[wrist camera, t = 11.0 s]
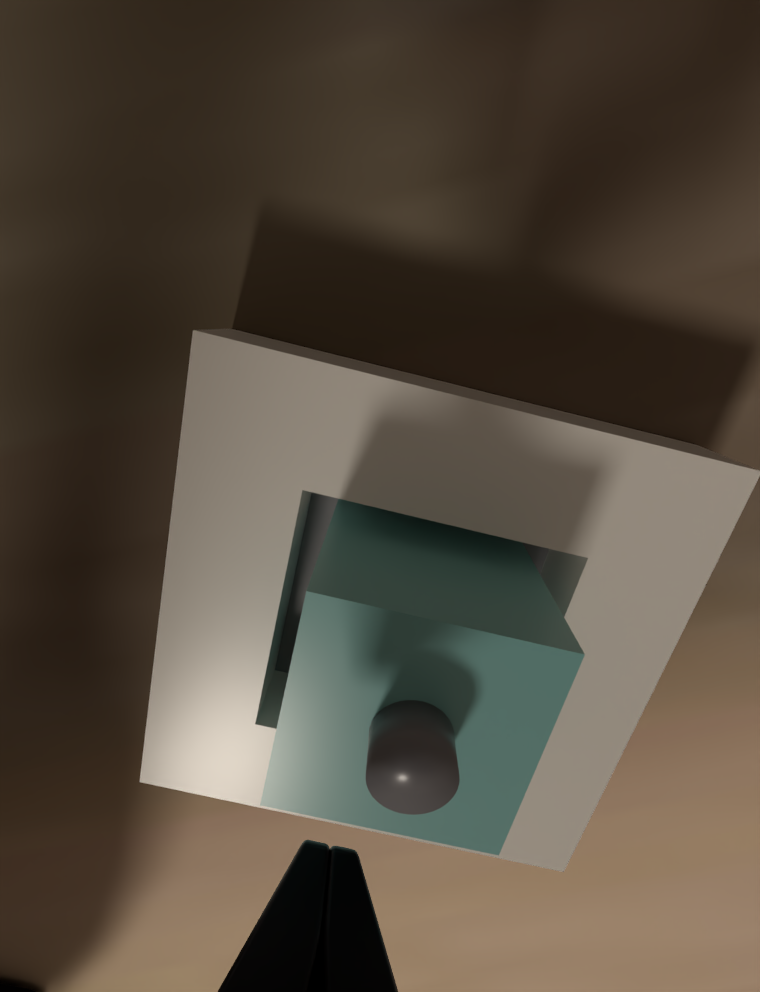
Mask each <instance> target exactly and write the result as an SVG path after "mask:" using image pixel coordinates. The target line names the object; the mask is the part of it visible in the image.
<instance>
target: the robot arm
mask: <svg viewBox="0 0 760 992" xmlns="http://www.w3.org/2000/svg"><path fill="white" fill-rule="evenodd" d="M0 992H35V991H33V990H31V989H27V988H22V987H17V986H12V985H7V984H1V983H0ZM218 992H398V990H397V986H396V983H395V979H394V976H393V973H392V969H391V966H390V962H389V959H388V955H387V952H386V948H385V945H384V942H383V938H382V935H381V931H380V928H379V924H378V921H377V918H376V914H375V911H374V907H373V904H372V900H371V897H370V893H369V890H368V887H367V883H366V880H365V876H364V873H363V869H362V866H361V863H360V859H359V856H358V854H357V852H356V851H355V850H353V849H348V848H344V847H339V846H332V847H331V848H330V849H329V846H328V845H327V844H325V843H320V842H315V841H311V840H306V841H304V842H303V843H302V845H301V846H300V848H299V850H298V851H297V853H296V855H295V857H294V859H293V860H292V862H291V864H290V866H289V867H288V869H287V871H286V873H285V874H284V876H283V878H282V880H281V881H280V883H279V885H278V887H277V888H276V890H275V892H274V894H273V895H272V897H271V899H270V901H269V902H268V904H267V906H266V908H265V909H264V911H263V913H262V915H261V916H260V918H259V920H258V922H257V924H256V925H255V927H254V929H253V931H252V932H251V934H250V936H249V938H248V939H247V941H246V943H245V945H244V946H243V948H242V950H241V952H240V953H239V955H238V957H237V959H236V960H235V962H234V964H233V966H232V967H231V969H230V971H229V973H228V974H227V976H226V978H225V980H224V981H223V983H222V985H221V987H220V988H219V990H218Z"/></svg>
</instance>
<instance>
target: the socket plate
mask: <svg viewBox="0 0 760 992" xmlns="http://www.w3.org/2000/svg"><path fill="white" fill-rule="evenodd" d="M759 476H760V470H757V469H755V468H752V467H750V466H748V465H745V464H743V463H740V462H738V461H735V460H733V459H730V458H728V457H725V456H723V455H721V454H718V453H716V452H713V451H711V450H708V449H706V448H703V447H701V446H699V445H696V444H692V443H688V442H684V441H680V440H676V439H672V438H668V437H664V436H660V435H655V434H651V433H647V432H643V431H639V430H635V429H631V428H627V427H623V426H619V425H615V424H611V423H607V422H603V421H599V420H595V419H591V418H587V417H583V416H579V415H575V414H571V413H567V412H563V411H559V410H555V409H551V408H547V407H543V406H539V405H535V404H531V403H527V402H523V401H519V400H515V399H511V398H507V397H503V396H499V395H495V394H491V393H487V392H483V391H479V390H475V389H471V388H467V387H463V386H459V385H455V384H451V383H447V382H443V381H439V380H435V379H431V378H427V377H423V376H419V375H415V374H411V373H407V372H403V371H399V370H395V369H391V368H387V367H383V366H379V365H375V364H371V363H367V362H363V361H359V360H355V359H351V358H347V357H343V356H339V355H335V354H331V353H327V352H323V351H319V350H315V349H311V348H307V347H303V346H299V345H295V344H291V343H287V342H283V341H279V340H275V339H271V338H267V337H263V336H259V335H255V334H251V333H247V332H243V331H239V330H235V329H206V330H193V334H192V342H191V351H190V359H189V368H188V376H187V385H186V393H185V402H184V410H183V419H182V427H181V435H180V444H179V452H178V461H177V469H176V478H175V486H174V495H173V503H172V512H171V520H170V528H169V537H168V545H167V554H166V562H165V571H164V579H163V588H162V596H161V605H160V613H159V621H158V630H157V638H156V647H155V655H154V664H153V672H152V681H151V689H150V698H149V706H148V714H147V723H146V731H145V740H144V748H143V757H142V765H141V774H140V782H142V783H147V784H151V785H156V786H161V787H165V788H170V789H175V790H180V791H184V792H189V793H194V794H198V795H203V796H208V797H213V798H217V799H222V800H227V801H231V802H236V803H241V804H246V805H250V806H255V807H260V808H264V809H269V810H274V811H279V812H283V813H288V814H293V815H297V816H302V817H307V818H312V819H316V820H321V821H326V822H330V823H335V824H340V825H345V826H349V827H354V828H359V829H363V830H368V831H373V832H378V833H382V834H387V835H392V836H396V837H401V838H406V839H411V840H415V841H420V842H425V843H429V844H434V845H439V846H444V847H448V848H453V849H458V850H462V851H467V852H472V853H477V854H481V855H486V856H491V857H495V858H500V859H505V860H510V861H514V862H519V863H524V864H528V865H533V866H538V867H543V868H547V869H552V870H557V871H561V872H564V870H565V868H566V866H567V864H568V862H569V860H570V858H571V856H572V854H573V852H574V850H575V848H576V846H577V844H578V842H579V840H580V838H581V836H582V834H583V832H584V830H585V828H586V826H587V824H588V822H589V820H590V818H591V816H592V814H593V812H594V810H595V808H596V806H597V804H598V802H599V800H600V798H601V796H602V794H603V792H604V790H605V788H606V786H607V784H608V782H609V779H610V777H611V775H612V773H613V771H614V769H615V767H616V765H617V763H618V761H619V759H620V757H621V755H622V753H623V751H624V749H625V747H626V745H627V743H628V741H629V739H630V737H631V735H632V733H633V731H634V729H635V727H636V725H637V723H638V721H639V719H640V717H641V715H642V713H643V711H644V709H645V707H646V705H647V703H648V701H649V699H650V697H651V695H652V693H653V691H654V689H655V687H656V684H657V682H658V680H659V678H660V676H661V674H662V672H663V670H664V668H665V666H666V664H667V662H668V660H669V658H670V656H671V654H672V652H673V650H674V648H675V646H676V644H677V642H678V640H679V638H680V636H681V634H682V632H683V630H684V628H685V626H686V624H687V622H688V620H689V618H690V616H691V614H692V612H693V610H694V608H695V606H696V604H697V602H698V600H699V598H700V596H701V594H702V592H703V589H704V587H705V585H706V583H707V581H708V579H709V577H710V575H711V573H712V571H713V569H714V567H715V565H716V563H717V561H718V559H719V557H720V555H721V553H722V551H723V549H724V547H725V545H726V543H727V541H728V539H729V537H730V535H731V533H732V531H733V529H734V527H735V525H736V523H737V521H738V519H739V517H740V515H741V513H742V511H743V509H744V507H745V505H746V503H747V501H748V499H749V497H750V494H751V492H752V490H753V488H754V486H755V484H756V482H757V480H758V478H759ZM338 499H342V500H346V501H351V502H355V503H359V504H363V505H367V506H372V507H376V508H380V509H384V510H388V511H393V512H397V513H401V514H405V515H409V516H414V517H418V518H422V519H426V520H430V521H435V522H439V523H443V524H447V525H451V526H456V527H460V528H464V529H468V530H472V531H477V532H481V533H485V534H489V535H493V536H498V537H502V538H506V539H510V540H514V541H519V542H522V543H523V545H524V547H525V548H526V550H527V552H528V554H529V556H530V557H531V559H532V561H533V563H534V565H535V566H536V568H537V570H538V572H539V573H540V575H541V577H542V579H543V581H544V582H545V584H546V586H547V588H548V590H549V591H550V593H551V595H552V597H553V598H554V600H555V602H556V604H557V606H558V607H559V609H560V611H561V613H562V615H563V616H564V618H565V620H566V622H567V623H568V625H569V627H570V629H571V631H572V632H573V634H574V636H575V638H576V640H577V641H578V643H579V645H580V647H581V648H582V650H583V652H584V654H585V656H584V658H583V660H582V663H581V665H580V667H579V670H578V672H577V674H576V677H575V679H574V681H573V684H572V686H571V688H570V691H569V693H568V695H567V698H566V700H565V702H564V705H563V707H562V709H561V712H560V714H559V716H558V719H557V721H556V723H555V726H554V728H553V730H552V733H551V735H550V737H549V740H548V742H547V744H546V747H545V749H544V751H543V754H542V756H541V758H540V761H539V763H538V765H537V768H536V770H535V772H534V775H533V777H532V779H531V782H530V784H529V786H528V789H527V791H526V793H525V796H524V798H523V800H522V803H521V805H520V807H519V810H518V812H517V814H516V817H515V819H514V821H513V824H512V826H511V828H510V831H509V833H508V835H507V837H506V840H505V842H504V844H503V847H502V849H501V851H500V854H499V855H494V854H489V853H485V852H480V851H475V850H470V849H466V848H461V847H456V846H451V845H447V844H442V843H437V842H432V841H428V840H423V839H418V838H413V837H409V836H404V835H399V834H394V833H390V832H385V831H380V830H375V829H371V828H366V827H361V826H356V825H352V824H347V823H342V822H337V821H333V820H328V819H323V818H318V817H314V816H309V815H304V814H299V813H295V812H290V811H285V810H280V809H276V808H271V807H266V806H261V805H260V803H261V798H262V794H263V789H264V784H265V780H266V775H267V771H268V766H269V761H270V757H271V752H272V747H273V743H274V738H275V734H276V729H277V724H278V720H279V715H280V710H281V706H282V701H283V697H284V692H285V687H286V683H287V678H288V673H289V669H290V664H291V660H292V655H293V650H294V646H295V641H296V636H297V632H298V627H299V623H300V618H301V613H302V609H303V604H304V599H305V595H306V590H307V588H308V585H309V582H310V579H311V576H312V573H313V570H314V568H315V565H316V562H317V559H318V556H319V553H320V550H321V547H322V545H323V542H324V539H325V536H326V533H327V530H328V527H329V524H330V522H331V519H332V516H333V513H334V510H335V507H336V504H337V502H338Z"/></svg>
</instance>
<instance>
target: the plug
mask: <svg viewBox="0 0 760 992" xmlns="http://www.w3.org/2000/svg"><path fill="white" fill-rule="evenodd" d="M584 656H585V654H584V652H583V650H582V648H581V647H580V645H579V643H578V641H577V640H576V638H575V636H574V634H573V632H572V631H571V629H570V627H569V625H568V623H567V622H566V620H565V618H564V616H563V615H562V613H561V611H560V609H559V607H558V606H557V604H556V602H555V600H554V598H553V597H552V595H551V593H550V591H549V590H548V588H547V586H546V584H545V582H544V581H543V579H542V577H541V575H540V573H539V572H538V570H537V568H536V566H535V565H534V563H533V561H532V559H531V557H530V556H529V554H528V552H527V550H526V548H525V547H524V545H523V543H522V542H519V541H514V540H510V539H506V538H502V537H498V536H493V535H489V534H485V533H481V532H477V531H472V530H468V529H464V528H460V527H456V526H451V525H447V524H443V523H439V522H435V521H430V520H426V519H422V518H418V517H414V516H409V515H405V514H401V513H397V512H393V511H388V510H384V509H380V508H376V507H372V506H367V505H363V504H359V503H355V502H351V501H346V500H342V499H338V502H337V504H336V507H335V510H334V513H333V516H332V519H331V522H330V524H329V527H328V530H327V533H326V536H325V539H324V542H323V545H322V547H321V550H320V553H319V556H318V559H317V562H316V565H315V568H314V570H313V573H312V576H311V579H310V582H309V585H308V588H307V590H306V595H305V599H304V604H303V609H302V613H301V618H300V623H299V627H298V632H297V636H296V641H295V646H294V650H293V655H292V660H291V664H290V669H289V673H288V678H287V683H286V687H285V692H284V697H283V701H282V706H281V710H280V715H279V720H278V724H277V729H276V734H275V738H274V743H273V747H272V752H271V757H270V761H269V766H268V771H267V775H266V780H265V784H264V789H263V794H262V798H261V803H260V805H261V806H266V807H271V808H276V809H280V810H285V811H290V812H295V813H299V814H304V815H309V816H314V817H318V818H323V819H328V820H333V821H337V822H342V823H347V824H352V825H356V826H361V827H366V828H371V829H375V830H380V831H385V832H390V833H394V834H399V835H404V836H409V837H413V838H418V839H423V840H428V841H432V842H437V843H442V844H447V845H451V846H456V847H461V848H466V849H470V850H475V851H480V852H485V853H489V854H494V855H499V854H500V851H501V849H502V847H503V844H504V842H505V840H506V837H507V835H508V833H509V831H510V828H511V826H512V824H513V821H514V819H515V817H516V814H517V812H518V810H519V807H520V805H521V803H522V800H523V798H524V796H525V793H526V791H527V789H528V786H529V784H530V782H531V779H532V777H533V775H534V772H535V770H536V768H537V765H538V763H539V761H540V758H541V756H542V754H543V751H544V749H545V747H546V744H547V742H548V740H549V737H550V735H551V733H552V730H553V728H554V726H555V723H556V721H557V719H558V716H559V714H560V712H561V709H562V707H563V705H564V702H565V700H566V698H567V695H568V693H569V691H570V688H571V686H572V684H573V681H574V679H575V677H576V674H577V672H578V670H579V667H580V665H581V663H582V660H583V658H584Z"/></svg>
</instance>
